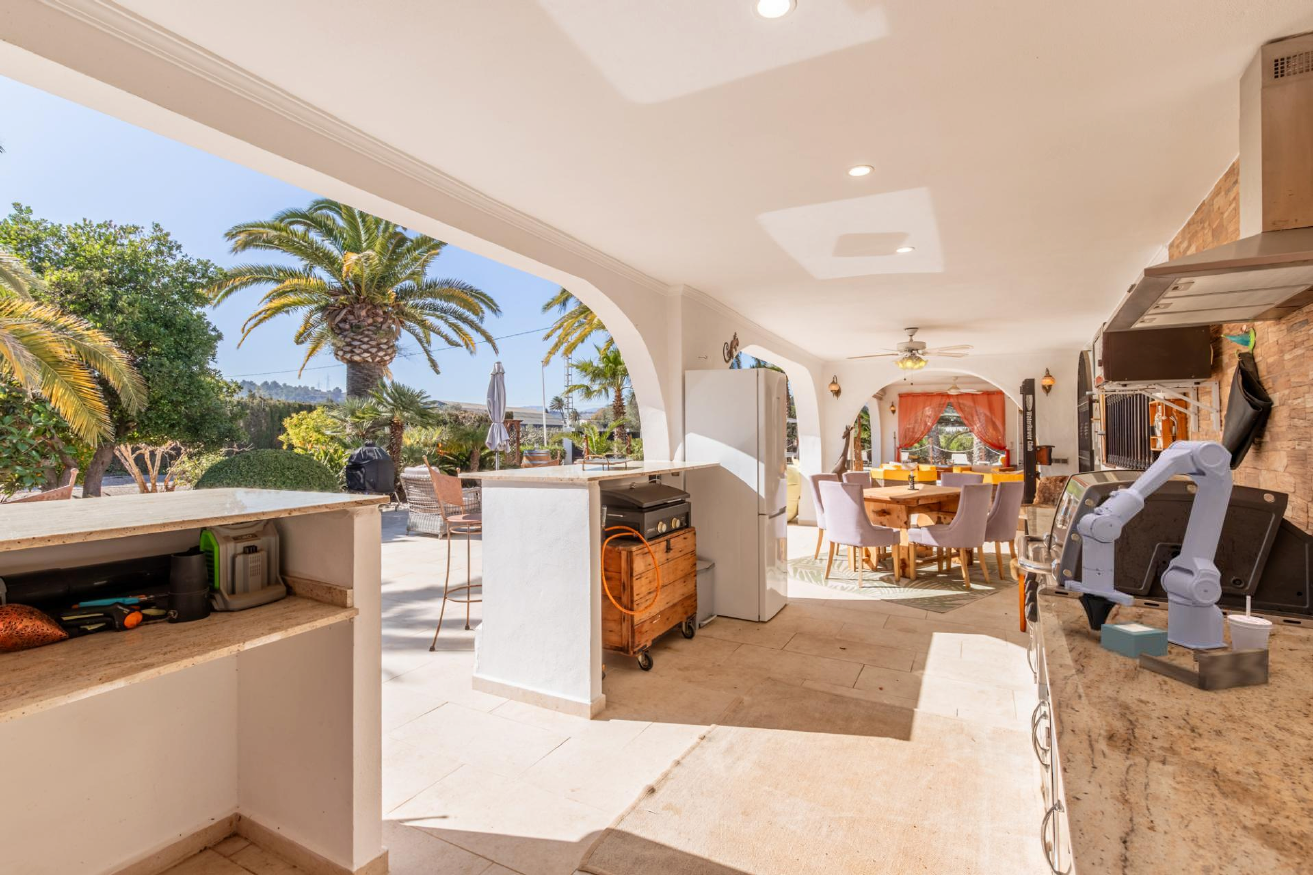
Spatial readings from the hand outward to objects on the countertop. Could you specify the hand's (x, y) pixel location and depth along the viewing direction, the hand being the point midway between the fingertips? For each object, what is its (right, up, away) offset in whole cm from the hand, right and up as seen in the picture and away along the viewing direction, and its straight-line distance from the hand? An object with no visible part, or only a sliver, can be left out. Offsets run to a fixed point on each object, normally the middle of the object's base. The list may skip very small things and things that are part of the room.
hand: (1096, 629), depth 137 cm
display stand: (+5, -2, -20) cm, 20 cm away
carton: (+2, -2, -8) cm, 8 cm away
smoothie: (+17, -2, -18) cm, 24 cm away
